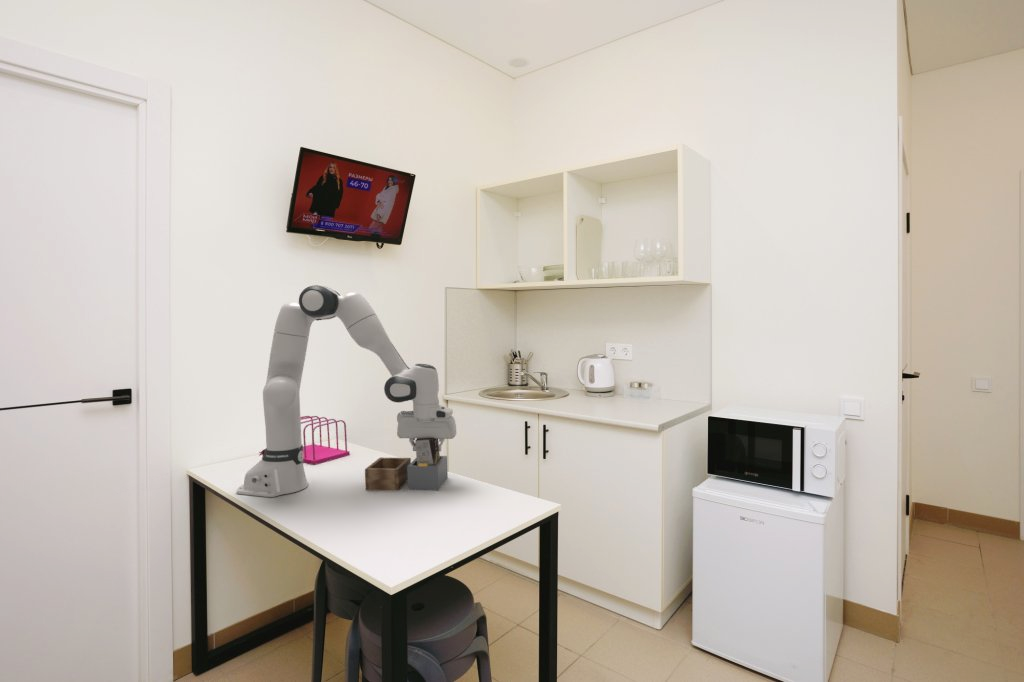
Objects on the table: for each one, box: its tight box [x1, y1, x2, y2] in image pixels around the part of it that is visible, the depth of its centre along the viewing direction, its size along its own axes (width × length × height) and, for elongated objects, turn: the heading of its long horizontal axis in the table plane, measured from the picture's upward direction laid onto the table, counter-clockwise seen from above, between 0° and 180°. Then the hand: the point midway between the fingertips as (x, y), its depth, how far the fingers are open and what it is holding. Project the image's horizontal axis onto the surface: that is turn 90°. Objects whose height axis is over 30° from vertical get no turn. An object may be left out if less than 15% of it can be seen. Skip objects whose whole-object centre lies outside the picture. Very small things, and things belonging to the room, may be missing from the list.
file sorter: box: [300, 415, 351, 466], centre depth 223 cm, size 17×25×16 cm
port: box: [407, 455, 449, 492], centre depth 183 cm, size 10×13×9 cm
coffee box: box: [414, 438, 441, 466], centre depth 183 cm, size 9×6×16 cm
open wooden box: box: [364, 457, 412, 491], centre depth 184 cm, size 11×14×7 cm
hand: (427, 450), depth 183 cm, fingers open, 7 cm apart
